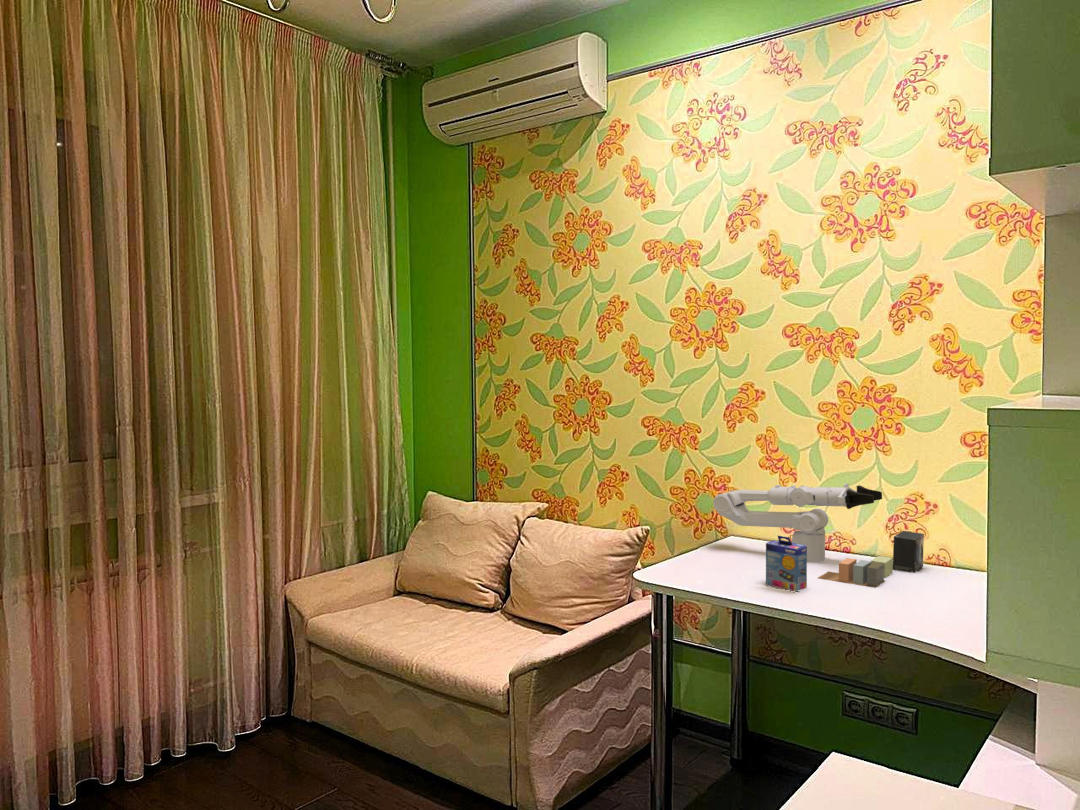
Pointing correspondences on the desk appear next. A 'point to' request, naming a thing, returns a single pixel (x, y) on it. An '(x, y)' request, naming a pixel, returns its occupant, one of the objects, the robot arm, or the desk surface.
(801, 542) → the robot arm
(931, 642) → the desk surface
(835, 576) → the walnut board
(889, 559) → the sage book
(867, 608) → the desk surface
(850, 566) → the terracotta book
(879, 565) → the steel bookend
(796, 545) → the ink cartridge box
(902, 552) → the small box
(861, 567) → the grey-blue block
